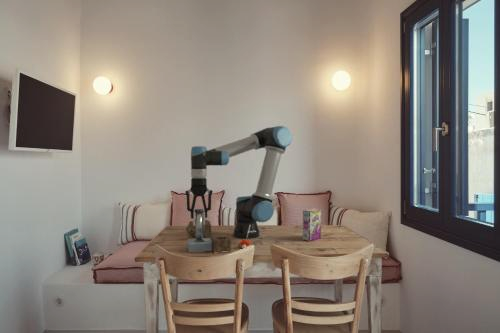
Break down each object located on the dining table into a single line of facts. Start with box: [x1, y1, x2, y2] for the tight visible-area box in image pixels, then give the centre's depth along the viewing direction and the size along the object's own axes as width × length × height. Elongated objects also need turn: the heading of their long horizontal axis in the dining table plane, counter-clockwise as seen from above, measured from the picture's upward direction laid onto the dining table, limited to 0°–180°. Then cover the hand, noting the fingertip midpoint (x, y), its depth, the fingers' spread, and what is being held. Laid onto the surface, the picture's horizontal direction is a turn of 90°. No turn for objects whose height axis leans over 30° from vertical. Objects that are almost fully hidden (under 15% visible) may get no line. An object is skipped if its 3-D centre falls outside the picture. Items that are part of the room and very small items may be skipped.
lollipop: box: [237, 225, 256, 249], centre depth 171 cm, size 6×10×12 cm, turn 95°
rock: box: [186, 218, 212, 238], centre depth 202 cm, size 20×14×10 cm
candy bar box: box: [302, 208, 322, 242], centre depth 188 cm, size 11×5×16 cm, turn 134°
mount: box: [211, 235, 232, 253], centre depth 166 cm, size 8×8×6 cm
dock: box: [186, 237, 213, 254], centre depth 168 cm, size 11×11×4 cm
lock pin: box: [194, 208, 204, 241], centre depth 168 cm, size 4×4×15 cm
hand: (199, 224), depth 168 cm, fingers closed on lock pin, 4 cm apart
